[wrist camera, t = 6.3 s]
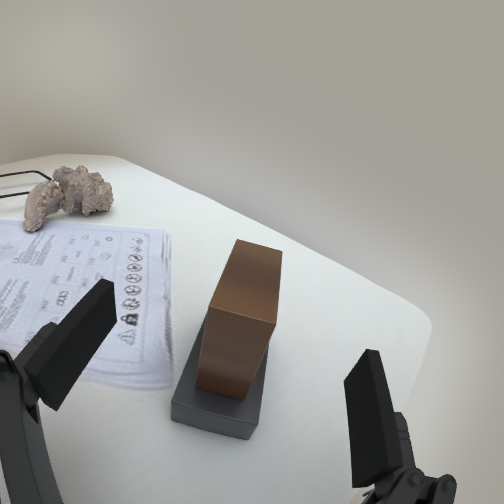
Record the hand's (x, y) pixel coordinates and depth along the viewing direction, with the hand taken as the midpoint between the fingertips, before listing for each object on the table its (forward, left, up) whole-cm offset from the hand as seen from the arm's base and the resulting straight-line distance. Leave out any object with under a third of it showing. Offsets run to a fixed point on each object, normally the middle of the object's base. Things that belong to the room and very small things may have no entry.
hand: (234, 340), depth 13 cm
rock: (+32, +3, -7) cm, 33 cm away
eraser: (+2, -2, -7) cm, 7 cm away
